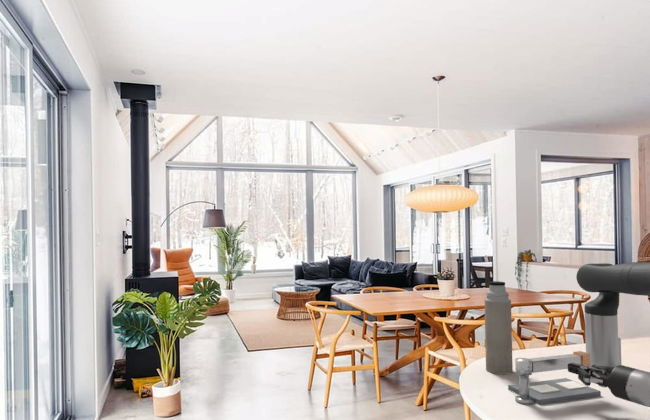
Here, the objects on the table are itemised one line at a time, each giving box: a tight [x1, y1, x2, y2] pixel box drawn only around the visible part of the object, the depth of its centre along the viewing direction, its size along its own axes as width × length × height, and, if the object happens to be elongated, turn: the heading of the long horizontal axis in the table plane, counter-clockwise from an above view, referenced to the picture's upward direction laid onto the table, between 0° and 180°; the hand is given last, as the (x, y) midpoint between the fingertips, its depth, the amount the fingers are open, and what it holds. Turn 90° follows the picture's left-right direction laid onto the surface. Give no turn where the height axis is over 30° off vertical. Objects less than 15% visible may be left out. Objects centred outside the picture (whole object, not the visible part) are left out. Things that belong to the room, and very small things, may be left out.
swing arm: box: [514, 350, 590, 376], centre depth 129 cm, size 22×4×4 cm, turn 107°
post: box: [514, 374, 535, 405], centre depth 126 cm, size 4×4×7 cm
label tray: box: [507, 377, 602, 405], centre depth 132 cm, size 20×12×2 cm, turn 107°
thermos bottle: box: [484, 280, 514, 375], centre depth 153 cm, size 8×8×28 cm
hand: (569, 366), depth 125 cm, fingers closed
